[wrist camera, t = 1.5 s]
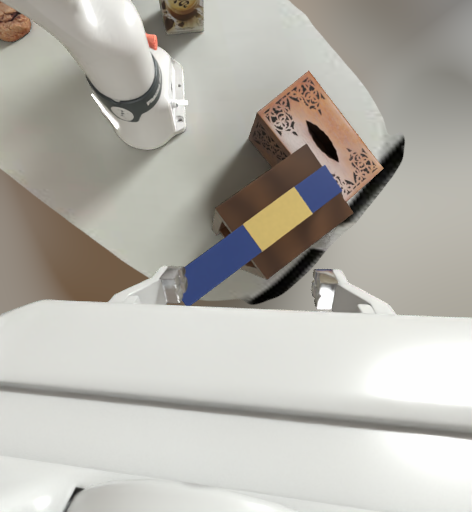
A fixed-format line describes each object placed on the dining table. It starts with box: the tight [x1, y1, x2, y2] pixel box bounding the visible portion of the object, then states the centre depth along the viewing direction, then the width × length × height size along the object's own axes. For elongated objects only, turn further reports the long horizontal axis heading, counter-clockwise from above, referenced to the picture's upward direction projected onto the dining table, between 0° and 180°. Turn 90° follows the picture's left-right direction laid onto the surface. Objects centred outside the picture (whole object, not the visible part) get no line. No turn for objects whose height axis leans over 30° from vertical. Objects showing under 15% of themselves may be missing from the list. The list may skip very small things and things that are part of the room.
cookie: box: [0, 1, 31, 42], centre depth 46 cm, size 10×11×3 cm
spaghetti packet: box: [182, 165, 342, 306], centre depth 29 cm, size 24×4×4 cm, turn 126°
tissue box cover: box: [248, 71, 383, 202], centre depth 51 cm, size 26×14×10 cm, turn 41°
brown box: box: [212, 144, 353, 279], centre depth 43 cm, size 16×12×24 cm
